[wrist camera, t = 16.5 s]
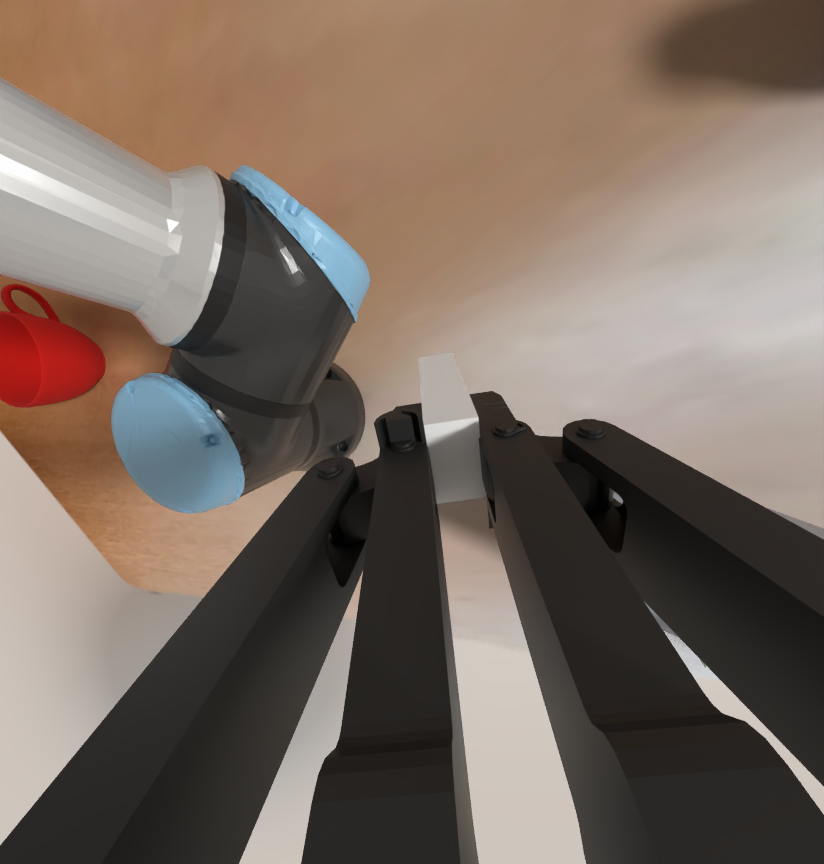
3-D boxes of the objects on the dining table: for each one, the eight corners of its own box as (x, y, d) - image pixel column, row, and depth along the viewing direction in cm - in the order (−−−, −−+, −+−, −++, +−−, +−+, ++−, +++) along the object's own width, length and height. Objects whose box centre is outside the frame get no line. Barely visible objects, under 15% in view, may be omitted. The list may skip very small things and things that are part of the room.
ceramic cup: (105, 288, 55) (20, 272, 46) (128, 398, 58) (52, 405, 48) (47, 299, 59) (-42, 286, 49) (71, 402, 61) (-9, 410, 52)
